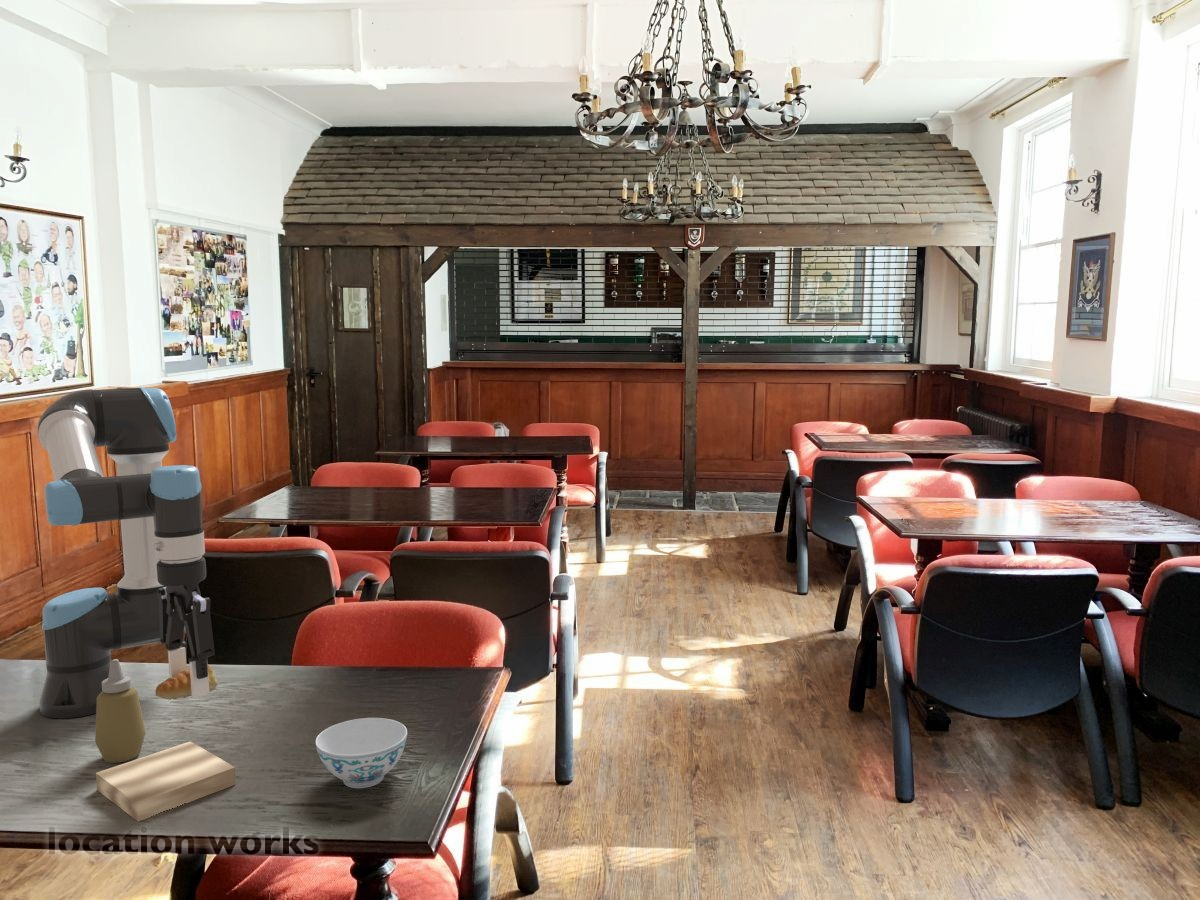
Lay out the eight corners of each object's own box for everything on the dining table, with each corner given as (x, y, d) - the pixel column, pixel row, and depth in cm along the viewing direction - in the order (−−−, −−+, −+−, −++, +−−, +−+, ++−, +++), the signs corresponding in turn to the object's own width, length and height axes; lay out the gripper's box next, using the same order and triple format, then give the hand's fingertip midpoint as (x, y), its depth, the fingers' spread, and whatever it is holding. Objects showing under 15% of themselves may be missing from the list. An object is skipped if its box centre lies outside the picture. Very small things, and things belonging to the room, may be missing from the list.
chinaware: (333, 759, 166) (331, 717, 165) (417, 759, 166) (416, 717, 165) (304, 800, 151) (302, 755, 150) (396, 800, 151) (394, 755, 150)
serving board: (97, 790, 156) (95, 773, 155) (191, 757, 168) (190, 741, 167) (138, 821, 145) (136, 803, 145) (236, 784, 157) (234, 767, 157)
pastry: (164, 705, 153) (162, 683, 153) (149, 695, 158) (147, 673, 157) (221, 689, 160) (219, 667, 159) (204, 680, 164) (203, 659, 164)
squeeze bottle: (98, 751, 170) (91, 656, 168) (147, 743, 174) (141, 650, 171) (94, 770, 163) (86, 670, 161) (145, 761, 166) (138, 664, 164)
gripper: (131, 554, 160) (140, 684, 163) (187, 571, 147) (197, 711, 150) (174, 546, 166) (183, 671, 168) (232, 562, 153) (240, 697, 156)
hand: (189, 690), depth 159 cm, fingers closed on pastry, 7 cm apart
